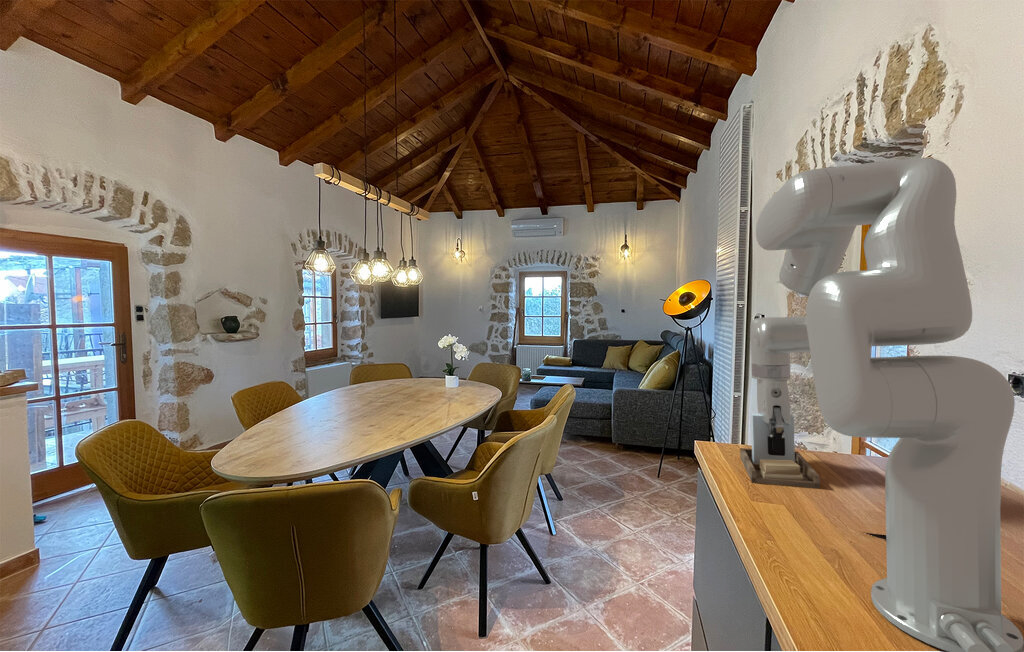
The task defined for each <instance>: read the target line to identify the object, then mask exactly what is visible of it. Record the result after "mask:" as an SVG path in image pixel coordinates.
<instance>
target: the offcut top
mask: <svg viewBox="0 0 1024 652" xmlns="http://www.w3.org/2000/svg"><path fill="white" fill-rule="evenodd" d="M760 468H761V469H762V470H763V471H764V472H765V473H766V474H788V475H800V466H799V465H798V464H796V463H795V462H794V461H793V460H763V459H760Z"/></svg>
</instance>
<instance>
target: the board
mask: <svg viewBox="0 0 1024 652" xmlns="http://www.w3.org/2000/svg"><path fill="white" fill-rule="evenodd" d="M782 419H783V417H782ZM770 422H771V423H775V421H770ZM783 425H784V436H785V456H777V455H769V454H768V439H767V436H769V431H768V424H767V423H765V422H764V421H763V418H762V415H761V414H760V413H758V412H751V413H750V427H751V428H750V430H751V433H750V434H751V449H752V463H760V459H763V460H793V461H794V462H795V452H796V451H795V447H796V445H795V417H794V416H793V415H792V414H791V424H790V425H786V424H785V423H784V422H783ZM773 427H775V426H772V430H773Z"/></svg>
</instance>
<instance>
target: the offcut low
mask: <svg viewBox="0 0 1024 652" xmlns="http://www.w3.org/2000/svg"><path fill="white" fill-rule="evenodd" d="M761 476H762V477H764V478H776V479H788V480H800V481H803V475H802V474H801V473H800V475H788V474H766V473H765V472H764V471H763V470H762V469H761Z"/></svg>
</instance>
